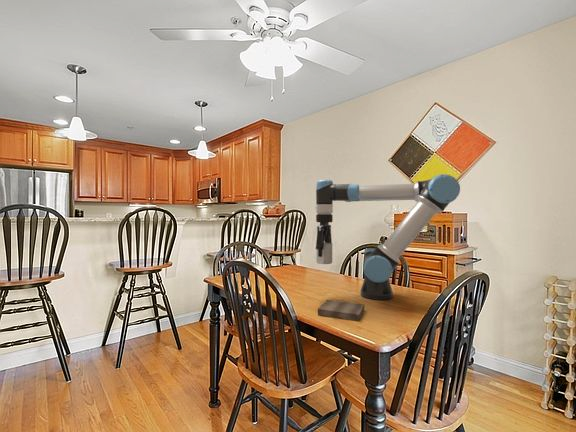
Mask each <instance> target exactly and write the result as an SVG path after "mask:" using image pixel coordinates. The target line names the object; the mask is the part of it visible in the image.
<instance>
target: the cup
mask: <svg viewBox="0 0 576 432" xmlns="http://www.w3.org/2000/svg"><path fill="white" fill-rule="evenodd" d="M323 249H324V264H323V265H331V264H333V242H332V243H325V242H324V247H323ZM316 263H317V264H318V249H316Z"/></svg>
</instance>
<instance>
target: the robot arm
mask: <svg viewBox="0 0 576 432" xmlns="http://www.w3.org/2000/svg"><path fill="white" fill-rule="evenodd" d="M315 188H316V189H315V193H316V194H315V200H316V204H315V205H316V206H315V209H316V216H315V219H316V223H319V225H317V226H316V227H317V228H316V229H317V231H316V240H315V241H316V244H315V250H317V249H318V263H317V264H319V265H325V264H324V249H323V247H324V243H332V244H333V242H332V226H331V224H329V223H332V222H333V220H334V219H333V214H332V213H333V211H334V210H333V208H334V205H333V202H336V201H337V202H341V201H342V202H346V203H351V202H352V203H353V202H375V201H376V202H377V201H378V202H379V201H380V202H381V201H415V202H416V203H415V205H414V206H413V207H412V208H411V209H410V210H409V212H408V213H407V214H406V215H405V217H404V218H403V219H402V221H401V222H400V223H399V224H398V225H397V226H396V227H395V229H394V230H393V232H391V234H390V235H389V237H388V238H387V239H386V240H385V241H384V243H383V244H380V245H379V244H378V245H377V246H376V247H375V248H365V249H364V252H363V255H364V261H363V266H362V268H363V273H364V274H363V275H364V279H363V282H362V285H361V287H360V296H361V297H363V298H365V299H369V300H373V301H374V300H377V301H388V300H390V299H393V297H394V292H393V291H394V290H393V289H392V286H391V282H390V278H391V276H392V274H393V271H394V270H395V269H396V267H397V266H398V265H399V264H400V257H401V255H403V253H404V252H405V251H406V250H407V249H408V247H409V246H410V245H411V244H412V243H413V241H414V240H415V239H416V238H417V237H418V235H419V234H420V233H421V232H422V231H423V229H424V228H425V227H426V225H428V224H429V222H430V221H431V220H433V219H432V218H433V217H434V216H435V215H436V214H437V213H442V212H444V210H446V209H447V207H448V205H449V204H450V203H452V202H454V201H455V200H456V199H457V198H458V197H459V195H460V193H461V186H460V182H459V180H457V179H456V178H455V177H454V176H453V175H450V174H446V173H445V174H438V175H435V176H433V177H432V178H430V179H427V180H421V181H418V180H417V181H415V182H414V183H398V184H378V185H377V184H375V185H374V184H373V185H372V184H371V185H359V184H358V183H356V184H355V183H347V184H345V183H344V184H343V183H342V184H340V183H339V184H334V182H333V180H331V179H320V180H318V181H316V187H315Z"/></svg>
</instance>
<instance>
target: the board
mask: <svg viewBox="0 0 576 432" xmlns="http://www.w3.org/2000/svg"><path fill="white" fill-rule="evenodd" d="M364 312H365V304H363V303H354V302H348V301H339V300H337V301H336V300H329V299H326V300H325V301H324V302H323V303H322V304H321V305H320V306H319V307H318V308H317V316H322V317H328V318H336V319H341V320H348V321H349V320H350V321H355V322H359V321H360V320H361V318H362V316H363V314H364Z"/></svg>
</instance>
